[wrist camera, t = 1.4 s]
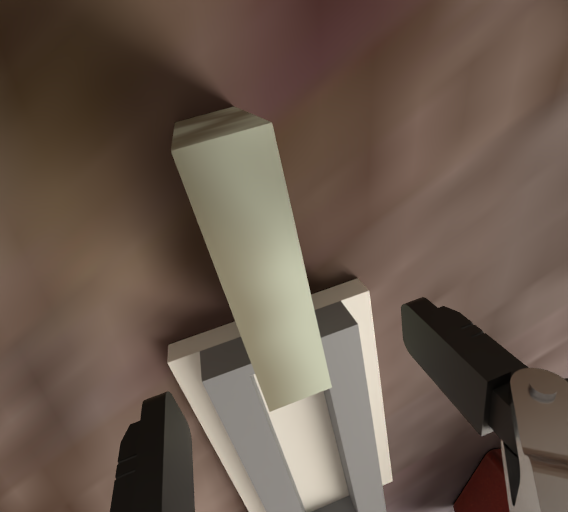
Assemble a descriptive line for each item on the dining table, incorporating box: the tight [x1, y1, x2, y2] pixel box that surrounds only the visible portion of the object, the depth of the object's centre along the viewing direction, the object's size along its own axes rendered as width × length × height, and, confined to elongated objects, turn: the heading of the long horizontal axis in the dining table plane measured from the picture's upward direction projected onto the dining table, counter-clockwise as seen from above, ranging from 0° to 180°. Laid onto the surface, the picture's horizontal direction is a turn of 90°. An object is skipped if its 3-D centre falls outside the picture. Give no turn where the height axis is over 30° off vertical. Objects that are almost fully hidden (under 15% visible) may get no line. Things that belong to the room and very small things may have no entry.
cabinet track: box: [167, 278, 393, 512], centre depth 32 cm, size 16×28×5 cm, turn 13°
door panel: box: [171, 107, 332, 412], centre depth 20 cm, size 4×14×10 cm, turn 13°
